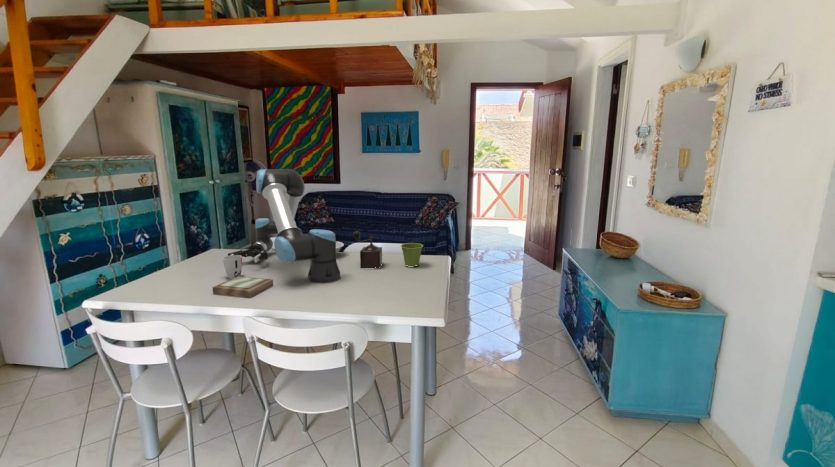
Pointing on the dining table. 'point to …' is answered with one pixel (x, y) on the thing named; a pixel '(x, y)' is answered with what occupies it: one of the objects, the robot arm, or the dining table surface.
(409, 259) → the plant pot
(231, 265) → the cup
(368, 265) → the manual coffee grinder
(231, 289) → the wooden tray
